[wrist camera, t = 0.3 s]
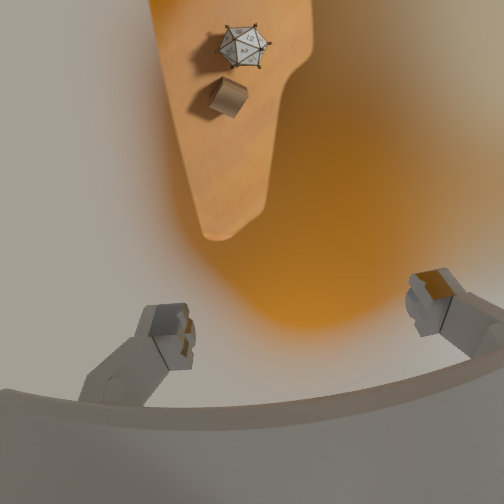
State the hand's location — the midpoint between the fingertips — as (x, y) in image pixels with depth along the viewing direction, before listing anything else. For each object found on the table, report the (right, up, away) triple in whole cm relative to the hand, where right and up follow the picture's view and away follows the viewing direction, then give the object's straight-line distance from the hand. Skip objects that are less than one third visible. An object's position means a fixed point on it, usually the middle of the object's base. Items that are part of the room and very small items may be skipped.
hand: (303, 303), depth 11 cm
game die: (-3, +38, +34) cm, 51 cm away
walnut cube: (-6, +31, +42) cm, 53 cm away
